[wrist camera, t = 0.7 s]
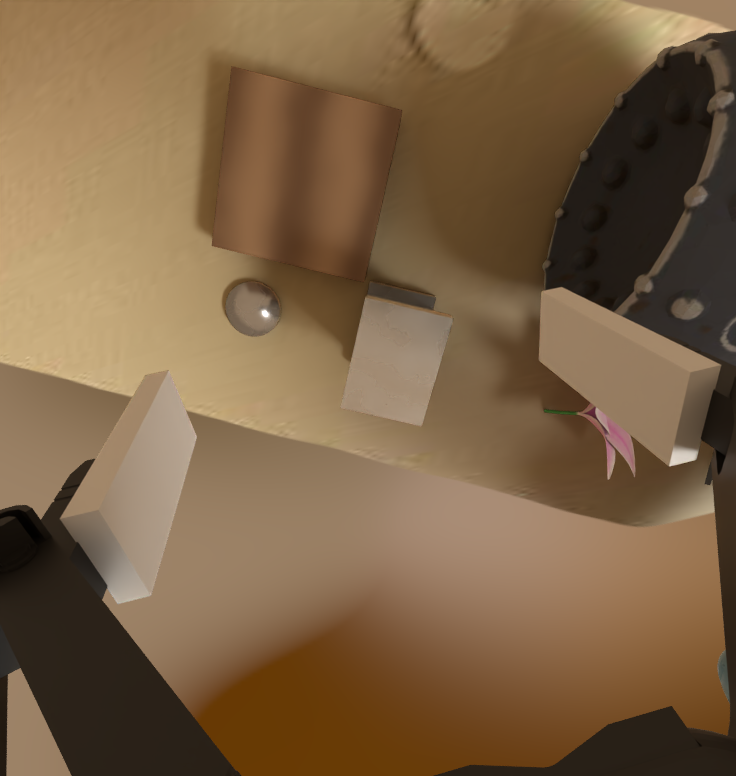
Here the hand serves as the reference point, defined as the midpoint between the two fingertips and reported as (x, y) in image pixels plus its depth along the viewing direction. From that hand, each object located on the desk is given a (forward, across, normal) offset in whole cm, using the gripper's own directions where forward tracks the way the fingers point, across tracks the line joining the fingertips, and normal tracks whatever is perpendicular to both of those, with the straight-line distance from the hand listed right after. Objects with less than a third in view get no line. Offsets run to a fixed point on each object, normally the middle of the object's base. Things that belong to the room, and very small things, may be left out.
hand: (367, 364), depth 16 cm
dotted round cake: (+22, -25, +3) cm, 34 cm away
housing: (+25, -5, +9) cm, 27 cm away
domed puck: (+28, +7, +6) cm, 29 cm away
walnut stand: (+28, 0, -4) cm, 28 cm away
